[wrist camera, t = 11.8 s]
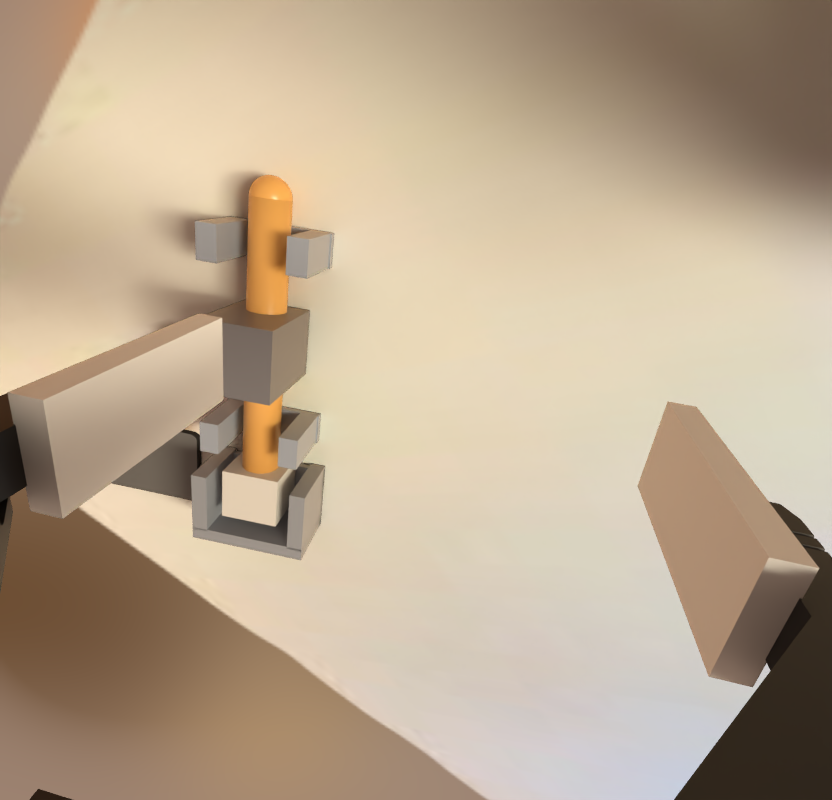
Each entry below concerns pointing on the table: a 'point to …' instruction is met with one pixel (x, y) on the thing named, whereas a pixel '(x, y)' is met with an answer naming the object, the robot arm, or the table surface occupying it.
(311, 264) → the clip
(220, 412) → the clip
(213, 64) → the table surface
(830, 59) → the table surface
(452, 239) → the table surface
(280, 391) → the orange rod with blocks
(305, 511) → the end holder
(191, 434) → the smartphone
